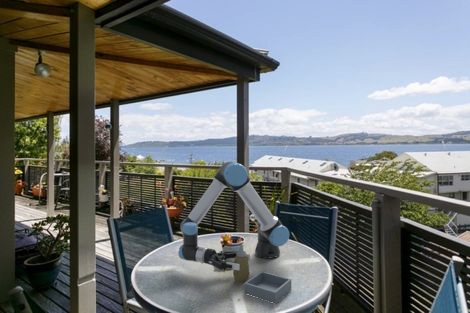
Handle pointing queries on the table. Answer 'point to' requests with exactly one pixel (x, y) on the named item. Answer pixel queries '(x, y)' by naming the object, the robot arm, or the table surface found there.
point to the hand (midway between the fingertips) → (244, 262)
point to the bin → (268, 286)
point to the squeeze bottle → (241, 266)
